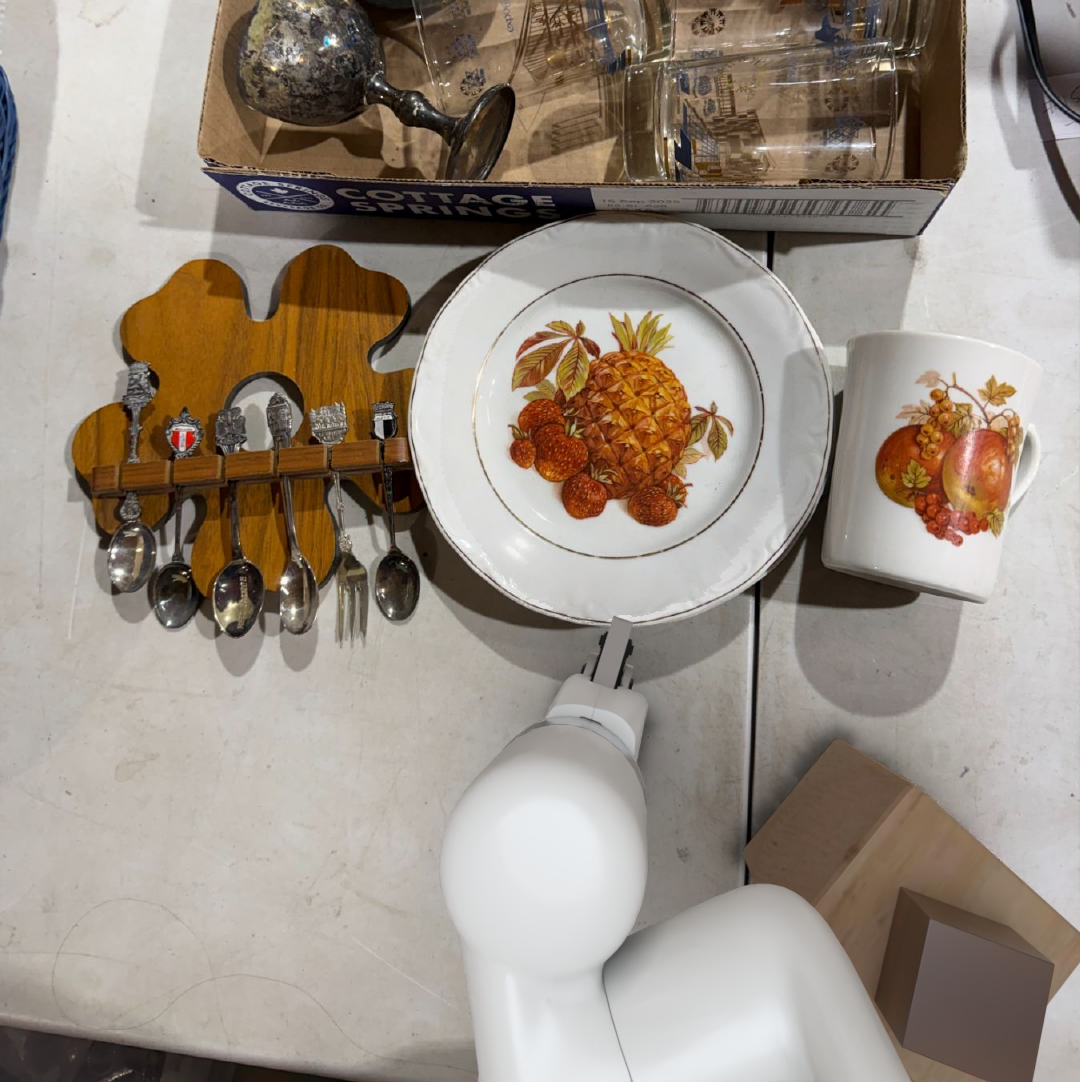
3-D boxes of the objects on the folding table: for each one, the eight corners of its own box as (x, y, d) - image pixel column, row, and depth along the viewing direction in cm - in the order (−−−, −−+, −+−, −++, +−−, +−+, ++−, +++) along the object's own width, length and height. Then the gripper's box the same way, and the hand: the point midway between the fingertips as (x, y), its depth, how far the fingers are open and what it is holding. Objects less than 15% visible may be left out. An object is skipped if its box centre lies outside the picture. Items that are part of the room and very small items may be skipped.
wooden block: (738, 852, 64) (776, 950, 45) (836, 734, 65) (913, 781, 46) (862, 973, 62) (958, 1131, 43) (961, 848, 63) (1098, 948, 44)
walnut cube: (987, 1046, 43) (1029, 1099, 38) (873, 1001, 44) (901, 1048, 39) (1011, 927, 44) (1055, 964, 40) (899, 886, 45) (929, 917, 40)
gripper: (586, 1037, 43) (601, 916, 60) (695, 647, 46) (682, 636, 63) (427, 971, 44) (486, 871, 61) (546, 596, 48) (571, 598, 64)
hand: (585, 751), depth 62 cm, fingers open, 9 cm apart
